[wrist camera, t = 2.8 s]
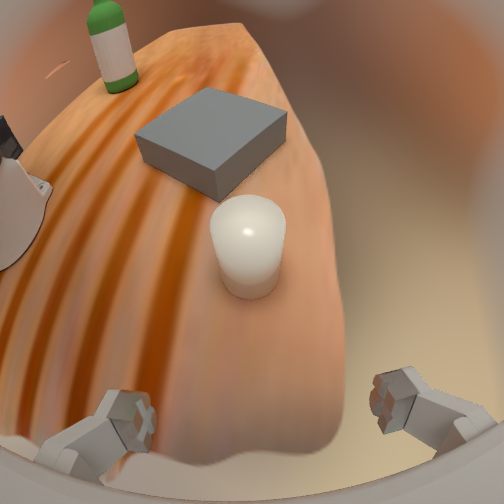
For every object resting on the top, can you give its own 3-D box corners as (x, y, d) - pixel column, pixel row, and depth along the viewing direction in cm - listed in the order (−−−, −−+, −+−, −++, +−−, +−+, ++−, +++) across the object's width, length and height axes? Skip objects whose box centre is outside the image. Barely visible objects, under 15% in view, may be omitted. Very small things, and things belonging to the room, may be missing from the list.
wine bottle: (141, 75, 54) (118, -35, 28) (137, 88, 50) (110, -35, 24) (110, 84, 53) (82, -22, 27) (104, 98, 49) (71, -19, 23)
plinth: (144, 161, 37) (133, 133, 32) (210, 113, 42) (206, 86, 38) (219, 202, 32) (214, 170, 28) (285, 141, 38) (287, 111, 34)
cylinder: (210, 278, 27) (194, 230, 21) (244, 239, 30) (240, 184, 23) (256, 310, 26) (256, 270, 19) (290, 266, 28) (299, 216, 21)
